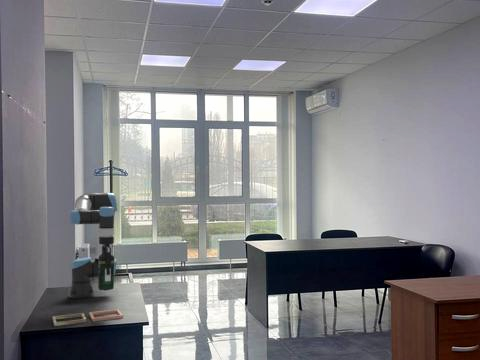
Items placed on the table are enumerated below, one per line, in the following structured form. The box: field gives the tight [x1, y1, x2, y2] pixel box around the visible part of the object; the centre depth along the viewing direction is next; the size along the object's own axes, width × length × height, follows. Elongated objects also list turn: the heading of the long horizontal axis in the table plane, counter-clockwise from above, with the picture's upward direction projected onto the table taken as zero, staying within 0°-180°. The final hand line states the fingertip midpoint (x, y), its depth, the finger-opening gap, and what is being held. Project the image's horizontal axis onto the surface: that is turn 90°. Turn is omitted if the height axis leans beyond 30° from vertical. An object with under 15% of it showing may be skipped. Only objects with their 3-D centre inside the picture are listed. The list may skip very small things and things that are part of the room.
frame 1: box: [52, 312, 87, 327], centre depth 233 cm, size 13×15×2 cm
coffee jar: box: [97, 253, 115, 291], centre depth 241 cm, size 10×8×19 cm
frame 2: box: [88, 308, 124, 322], centre depth 241 cm, size 13×15×2 cm
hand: (106, 279), depth 241 cm, fingers closed on coffee jar, 9 cm apart
